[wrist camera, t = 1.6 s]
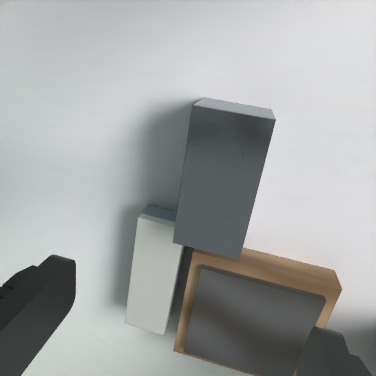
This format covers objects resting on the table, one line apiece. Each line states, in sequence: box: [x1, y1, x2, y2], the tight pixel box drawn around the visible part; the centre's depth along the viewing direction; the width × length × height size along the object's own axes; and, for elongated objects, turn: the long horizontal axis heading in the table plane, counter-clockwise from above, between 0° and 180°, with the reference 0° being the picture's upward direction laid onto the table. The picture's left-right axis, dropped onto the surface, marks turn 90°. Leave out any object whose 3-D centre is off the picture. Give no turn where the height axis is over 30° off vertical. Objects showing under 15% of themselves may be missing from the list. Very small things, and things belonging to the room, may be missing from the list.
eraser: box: [125, 204, 185, 336], centre depth 28 cm, size 12×4×3 cm, turn 170°
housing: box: [172, 98, 276, 259], centre depth 22 cm, size 10×5×5 cm, turn 172°
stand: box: [173, 248, 342, 376], centre depth 27 cm, size 12×12×3 cm
